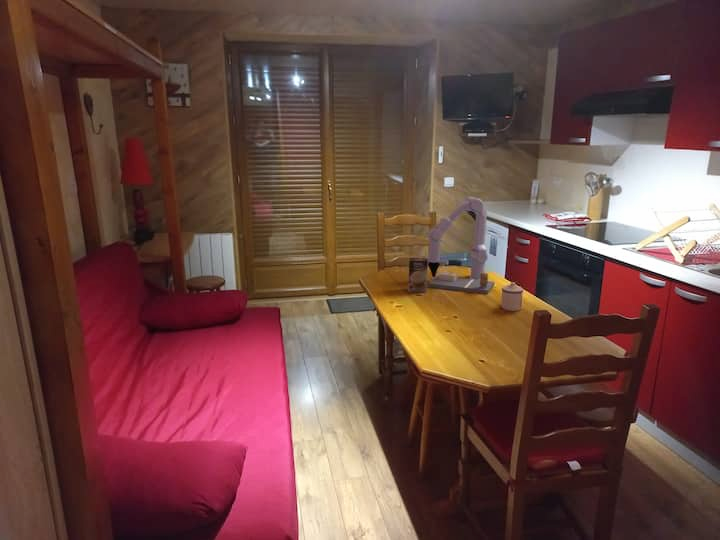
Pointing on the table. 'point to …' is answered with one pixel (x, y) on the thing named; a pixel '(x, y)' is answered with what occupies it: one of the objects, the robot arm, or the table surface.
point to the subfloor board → (461, 285)
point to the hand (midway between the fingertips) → (433, 276)
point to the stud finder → (447, 276)
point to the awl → (483, 280)
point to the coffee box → (417, 275)
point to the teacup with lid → (511, 297)
